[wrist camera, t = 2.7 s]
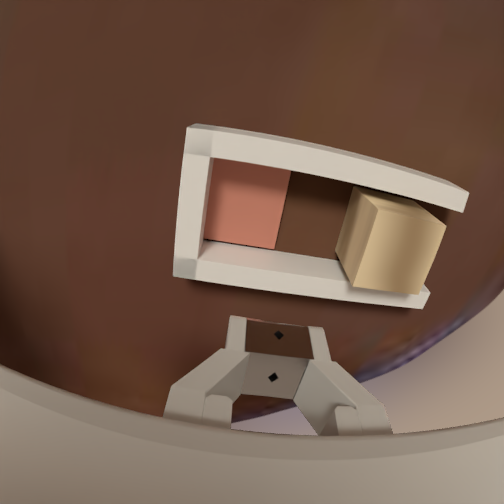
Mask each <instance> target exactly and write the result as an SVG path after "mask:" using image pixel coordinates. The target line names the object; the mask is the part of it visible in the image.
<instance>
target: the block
mask: <svg viewBox="0 0 504 504" xmlns="http://www.w3.org/2000/svg"><path fill="white" fill-rule="evenodd" d="M445 229H446V225H444V224H443V223H442V222H441V221H439V220H438V219H437V218H436V217H434V216H433V215H432V214H430V213H429V212H428V211H426V210H425V209H424V208H423V207H421V206H420V205H419V204H417V203H416V202H415V201H413V200H409V199H405V198H401V197H398V196H394V195H390V194H386V193H382V192H378V191H374V190H370V189H366V188H361V187H357V186H353V189H352V193H351V197H350V200H349V204H348V208H347V211H346V215H345V218H344V222H343V225H342V229H341V232H340V235H339V239H338V242H337V245H336V249H335V251H336V253H337V256H338V258H339V260H340V262H341V264H342V266H343V268H344V270H345V272H346V274H347V276H348V278H349V280H350V282H351V284H352V286H353V287H361V288H368V289H376V290H383V291H391V292H399V293H406V294H414V295H419V292H420V290H421V288H422V286H423V284H424V281H425V279H426V277H427V274H428V272H429V270H430V267H431V265H432V262H433V260H434V258H435V255H436V253H437V250H438V248H439V245H440V242H441V240H442V237H443V234H444V232H445Z"/></svg>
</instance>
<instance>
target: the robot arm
mask: <svg viewBox="0 0 504 504" xmlns="http://www.w3.org/2000/svg"><path fill="white" fill-rule="evenodd" d="M240 394H248V395H259V396H270V397H278V398H286V399H293V401H294V402H295V404H296V405H297V406H298V408H299V409H300V411H301V412H302V413H303V415H304V416H305V418H306V419H307V420H308V422H309V423H310V424H311V426H312V427H313V428H314V430H315V431H316V433H317V434H318V435H319V436H311V435H310V436H309V435H289V434H274V433H262V432H252V431H243V430H234V429H231V416H232V404H233V403H234V402H235V400H236V399H237V398H238V397H239V396H240ZM0 504H504V417H503V418H499V419H494V420H490V421H485V422H480V423H474V424H469V425H464V426H458V427H451V428H445V429H437V430H429V431H420V432H411V433H399V434H393V432H392V429H391V425H390V422H389V419H388V415H387V412H386V409H385V406H384V405H383V404H382V403H381V402H380V401H378V399H376V398H375V397H374V396H373V395H372V394H371V393H370V392H368V391H367V390H366V389H365V388H364V387H363V386H362V385H361V384H360V383H359V382H357V381H356V380H355V379H354V378H353V377H352V376H351V375H350V374H349V373H348V372H346V371H345V370H344V369H343V368H342V367H341V366H340V365H339V364H338V363H337V362H332V361H331V357H330V353H329V349H328V345H327V341H326V337H325V333H324V329H323V328H322V327H311V326H307V327H306V326H297V325H289V324H281V323H276V322H270V321H263V320H257V319H251V318H245V317H239V316H233V315H231V316H230V319H229V325H228V331H227V337H226V343H225V349H222V348H221V349H220V350H218V351H217V352H216V353H214V354H213V355H212V356H210V357H209V358H208V359H207V360H205V361H204V362H203V363H201V364H200V365H199V366H197V367H196V368H195V369H193V370H192V371H191V372H189V373H188V374H187V375H185V376H184V377H183V378H181V379H180V380H179V381H177V382H176V383H174V384H173V385H172V386H171V389H170V393H169V396H168V400H167V403H166V407H165V411H164V414H163V417H158V416H154V415H149V414H145V413H141V412H137V411H133V410H129V409H125V408H121V407H117V406H114V405H110V404H107V403H103V402H100V401H96V400H93V399H90V398H87V397H84V396H81V395H78V394H75V393H72V392H69V391H66V390H63V389H60V388H57V387H55V386H52V385H49V384H47V383H44V382H41V381H39V380H36V379H34V378H31V377H29V376H26V375H24V374H22V373H19V372H17V371H15V370H12V369H10V368H8V367H6V366H3V365H1V364H0Z"/></svg>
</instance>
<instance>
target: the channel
mask: <svg viewBox="0 0 504 504" xmlns="http://www.w3.org/2000/svg"><path fill="white" fill-rule="evenodd" d="M291 170H293V171H298V172H303V173H308V174H313V175H318V176H323V177H327V178H332V179H337V180H341V181H346V182H350V183H354V184H359V185H363V186H367V187H371V188H375V189H379V190H383V191H387V192H391V193H395V194H399V195H403V196H406V197H410V198H414V199H417V200H421V201H425V202H428V203H432V204H435V205H439V206H442V207H445V208H449V209H452V210H455V211H458V212H462V213H463V210H464V207H465V204H466V201H467V198H468V195H469V192H467V191H465V190H464V189H462V188H460V187H458V186H456V185H455V184H453V183H451V182H449V181H447V180H444V179H441V178H438V177H435V176H432V175H429V174H426V173H423V172H420V171H417V170H414V169H410V168H407V167H404V166H400V165H397V164H394V163H390V162H387V161H383V160H380V159H376V158H372V157H369V156H365V155H361V154H357V153H353V152H349V151H345V150H341V149H337V148H333V147H328V146H324V145H319V144H315V143H310V142H306V141H301V140H296V139H291V138H286V137H281V136H275V135H270V134H264V133H258V132H252V131H246V130H240V129H233V128H226V127H219V126H212V125H204V124H194V125H192V126H189V127H187V132H186V139H185V147H184V155H183V164H182V172H181V182H180V191H179V201H178V212H177V224H176V236H175V250H174V265H173V276H175V277H181V278H187V279H194V280H200V281H206V282H213V283H219V284H226V285H233V286H239V287H246V288H253V289H260V290H267V291H274V292H282V293H289V294H297V295H304V296H312V297H320V298H328V299H336V300H344V301H353V302H362V303H370V304H379V305H389V306H398V307H408V308H418V309H423V307H424V305H425V303H426V301H427V299H428V297H429V295H430V292H429V290H428V289H427V288H426V286H425V285H424V284H423V286H422V288H421V290H420V292H419V295H414V294H406V293H399V292H391V291H383V290H376V289H368V288H361V287H353V286H352V284H351V282H350V280H349V278H348V276H347V274H346V272H345V270H344V268H343V266H342V264H341V262H340V261H337V260H331V259H324V258H318V257H312V256H305V255H299V254H292V253H286V252H279V251H273V250H267V249H260V248H254V247H247V246H241V245H234V244H228V243H221V242H215V241H208V240H204V239H211V240H217V241H224V242H230V243H237V244H243V245H250V246H256V247H263V248H269V249H274V248H275V243H276V239H277V234H278V229H279V225H280V220H281V216H282V211H283V207H284V202H285V197H286V193H287V188H288V183H289V178H290V174H291Z"/></svg>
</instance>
